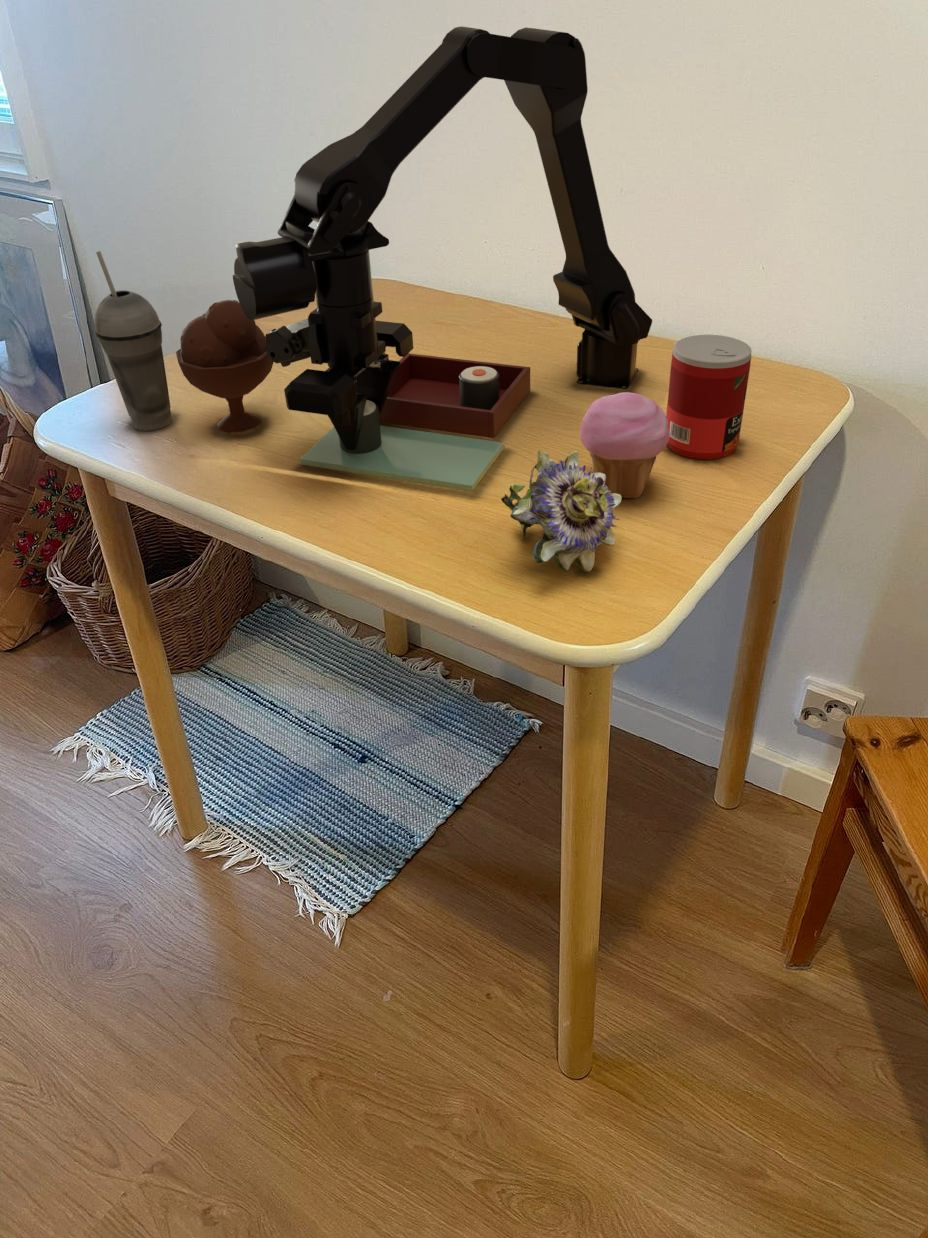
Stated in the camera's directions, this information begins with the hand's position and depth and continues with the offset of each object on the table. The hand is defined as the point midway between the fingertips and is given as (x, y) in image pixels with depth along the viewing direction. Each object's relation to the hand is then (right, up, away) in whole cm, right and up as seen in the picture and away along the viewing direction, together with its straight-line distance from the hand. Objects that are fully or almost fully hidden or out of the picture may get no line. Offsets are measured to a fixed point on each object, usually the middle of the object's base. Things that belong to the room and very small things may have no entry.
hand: (360, 439), depth 105 cm
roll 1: (0, -1, 0) cm, 1 cm away
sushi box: (+10, +5, +9) cm, 15 cm away
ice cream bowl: (-15, +3, +8) cm, 17 cm away
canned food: (+37, -1, 0) cm, 37 cm away
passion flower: (+20, -13, -16) cm, 29 cm away
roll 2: (+13, +5, +8) cm, 16 cm away
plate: (+5, -2, 0) cm, 5 cm away
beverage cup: (-26, +4, +10) cm, 28 cm away
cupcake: (+27, -7, -7) cm, 29 cm away
